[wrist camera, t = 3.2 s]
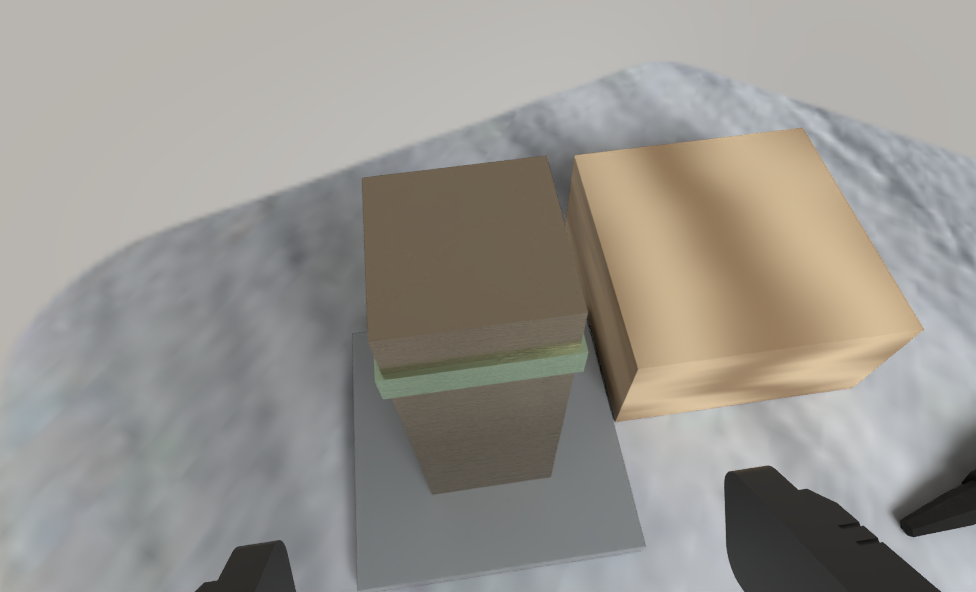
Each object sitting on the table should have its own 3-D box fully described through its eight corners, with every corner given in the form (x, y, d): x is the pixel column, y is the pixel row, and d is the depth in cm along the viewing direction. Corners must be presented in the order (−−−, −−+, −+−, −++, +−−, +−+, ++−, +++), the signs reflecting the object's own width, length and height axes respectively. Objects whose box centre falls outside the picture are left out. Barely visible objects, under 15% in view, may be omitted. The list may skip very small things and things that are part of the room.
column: (532, 366, 25) (551, 150, 14) (555, 480, 22) (597, 318, 12) (418, 381, 24) (355, 173, 14) (428, 499, 22) (360, 349, 12)
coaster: (579, 314, 27) (582, 302, 26) (640, 551, 22) (645, 546, 21) (357, 344, 26) (352, 333, 26) (363, 593, 21) (357, 591, 20)
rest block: (761, 204, 30) (802, 127, 26) (852, 387, 25) (924, 329, 21) (564, 229, 30) (574, 155, 25) (615, 421, 24) (638, 369, 20)
